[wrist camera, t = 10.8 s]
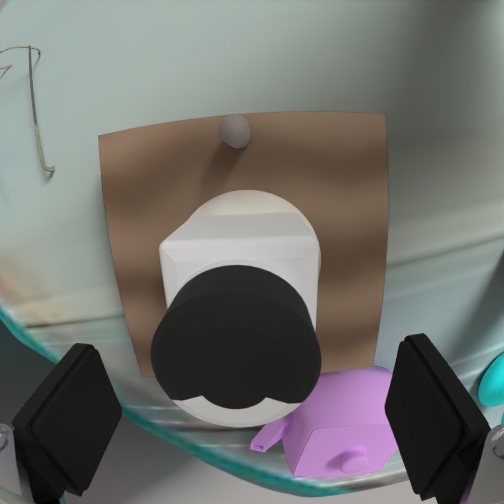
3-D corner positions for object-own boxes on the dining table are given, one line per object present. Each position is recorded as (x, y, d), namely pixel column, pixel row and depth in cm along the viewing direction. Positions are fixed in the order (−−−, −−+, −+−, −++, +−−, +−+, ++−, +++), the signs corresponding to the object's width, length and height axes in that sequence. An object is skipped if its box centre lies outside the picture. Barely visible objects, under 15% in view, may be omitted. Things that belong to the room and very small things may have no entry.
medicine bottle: (189, 215, 20) (107, 284, 9) (299, 211, 20) (352, 278, 8) (199, 313, 22) (154, 441, 11) (298, 310, 22) (329, 441, 10)
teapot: (246, 422, 32) (242, 493, 22) (259, 353, 29) (258, 431, 19) (384, 424, 33) (407, 483, 23) (416, 361, 30) (456, 420, 20)
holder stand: (125, 139, 24) (65, 132, 15) (362, 122, 23) (413, 105, 14) (157, 346, 29) (126, 408, 20) (357, 337, 28) (388, 398, 20)
